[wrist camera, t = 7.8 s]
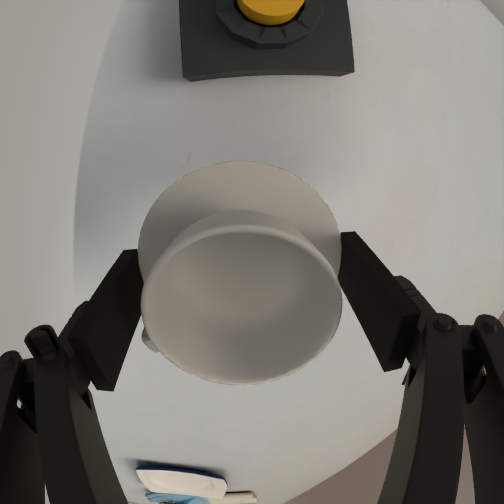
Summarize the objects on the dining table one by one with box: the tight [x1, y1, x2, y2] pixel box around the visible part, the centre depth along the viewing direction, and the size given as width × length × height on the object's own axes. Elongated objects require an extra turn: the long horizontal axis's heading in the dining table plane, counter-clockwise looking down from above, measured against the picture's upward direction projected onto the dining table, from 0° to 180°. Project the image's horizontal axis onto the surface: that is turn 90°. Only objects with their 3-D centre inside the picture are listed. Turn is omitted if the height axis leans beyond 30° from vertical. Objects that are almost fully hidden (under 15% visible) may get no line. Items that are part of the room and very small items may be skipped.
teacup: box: [138, 161, 342, 385], centre depth 13 cm, size 10×10×5 cm
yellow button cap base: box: [179, 0, 355, 82], centre depth 16 cm, size 12×10×5 cm
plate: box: [135, 466, 227, 499], centre depth 51 cm, size 20×20×3 cm
